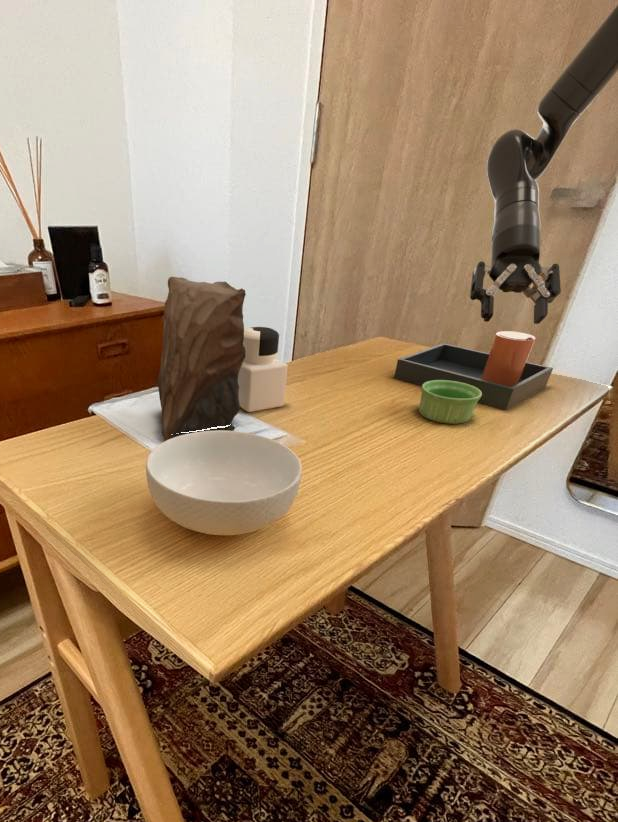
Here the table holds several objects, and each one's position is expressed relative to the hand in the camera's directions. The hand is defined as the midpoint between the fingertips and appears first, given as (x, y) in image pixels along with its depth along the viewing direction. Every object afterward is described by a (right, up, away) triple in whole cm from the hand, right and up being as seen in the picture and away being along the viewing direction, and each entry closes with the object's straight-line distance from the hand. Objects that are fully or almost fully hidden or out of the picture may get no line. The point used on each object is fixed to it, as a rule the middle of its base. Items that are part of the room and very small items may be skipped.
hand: (513, 320), depth 87 cm
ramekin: (-15, -19, -6) cm, 25 cm away
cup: (-1, -11, +4) cm, 11 cm away
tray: (-4, -9, +7) cm, 12 cm away
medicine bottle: (-46, -16, -2) cm, 49 cm away
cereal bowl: (-52, -36, -30) cm, 71 cm away
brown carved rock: (-57, -21, -10) cm, 62 cm away
